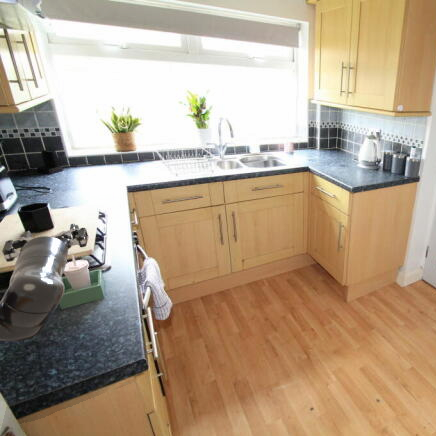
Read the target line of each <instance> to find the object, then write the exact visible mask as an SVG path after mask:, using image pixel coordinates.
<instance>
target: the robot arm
mask: <svg viewBox="0 0 436 436" xmlns="http://www.w3.org/2000/svg"><path fill="white" fill-rule="evenodd" d="M79 227H80V226H79V225H78V224H75V223H71V224H70V226H69V229H68V230H63V231H61V232H59V233H57V234H55V235H50V236H47V235H46V236H36V237H33V236H32V234H31V231H30V230H27V231H24V233H22V234H21V235H20V237H18V238H16V240H14V239H9V240H6V241H5V243H4V246H3V248H2V250H1V252H2V254H3V256H4V259H5V261H6V262H7V263H10V262H13V261H15V259H16V261H15V262H14V270H13V272H12V274H11V277H10V280H9V286H8V288H7V290H6V291H5V293H4V295H3V297H2V299H1V300H0V341H2V342H22V341H26V340H30V339H31V338H34V337H37V336H38V335H40V334H41V333H42V332H43V331H44V330H45V328H46V327H47V325H48V324H49V322H50V320H51V319H52V317H53V315H54V313H55V311H56V310H57V308H58V306H60V305H59V303H60V301H61V299H62V297H63V294H64V289H65V286H64V284H63V282H62V279H61V278H63V275H64V273H63V272H64V270H65V266H66V264H67V263H68V254H69V250H70V249H71V248H72V247H73V246H79V248H86V247H87V244H88V241H89V234H88V231H87V228H86V227H81V228H79Z"/></svg>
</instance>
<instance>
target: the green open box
mask: <svg viewBox="0 0 436 436" xmlns="http://www.w3.org/2000/svg"><path fill="white" fill-rule="evenodd" d="M89 276H90V283H91V287H87V288H83V289H79V290H75V291H74V290H73V288H72V286H71V284H70V283H69V281H68V279H67V278H66V276H62V278H61V279H62V282H63V284H64V286H65V289H64V294H63V297H62V299H61V301H60V303H59V305H58V306H59V308H60V309H61V310H64V309H68V308H72V307H77V306H79V305H83V304H88V303H91V302H95V301H98V300H102V299H105V297H106V296H105V278H104V275H103V272H102V269H101V268H98V269H94V270H89Z"/></svg>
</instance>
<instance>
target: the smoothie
mask: <svg viewBox="0 0 436 436" xmlns="http://www.w3.org/2000/svg"><path fill="white" fill-rule="evenodd" d="M69 255H70V258H71V260H72V261H69V262H67V264H66V266H65V270H64V272H63V275H64V277H66V278H67V279H68V281H69V283H70V284H71V286H72V288H73V290H74V291H75V290H79V289H83V288H87V287H91V283H90V276H89V271H90V270H89V269H90V268H89V266H90V263H89V261H88V260H86V259H75V256H74V254H73V252H72V251H71V252H69ZM88 268H89V269H88Z"/></svg>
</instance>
